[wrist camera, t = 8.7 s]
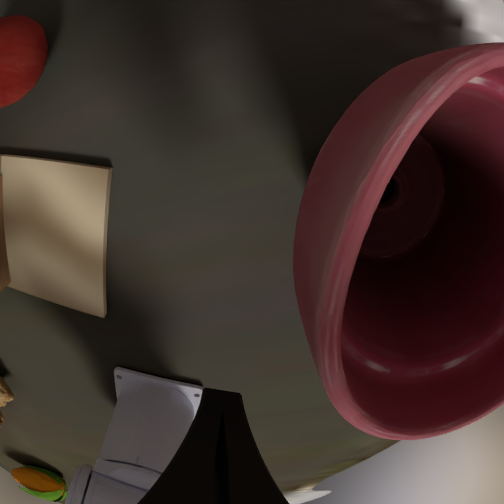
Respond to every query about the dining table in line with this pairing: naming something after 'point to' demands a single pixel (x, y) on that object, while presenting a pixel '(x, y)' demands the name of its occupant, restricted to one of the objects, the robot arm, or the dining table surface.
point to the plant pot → (410, 248)
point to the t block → (3, 245)
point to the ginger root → (4, 396)
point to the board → (57, 230)
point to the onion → (20, 56)
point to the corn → (41, 482)
